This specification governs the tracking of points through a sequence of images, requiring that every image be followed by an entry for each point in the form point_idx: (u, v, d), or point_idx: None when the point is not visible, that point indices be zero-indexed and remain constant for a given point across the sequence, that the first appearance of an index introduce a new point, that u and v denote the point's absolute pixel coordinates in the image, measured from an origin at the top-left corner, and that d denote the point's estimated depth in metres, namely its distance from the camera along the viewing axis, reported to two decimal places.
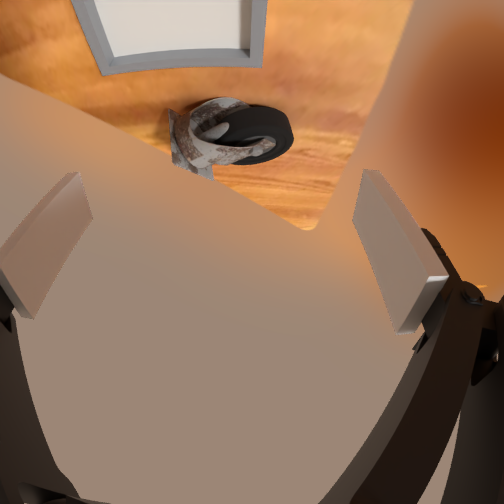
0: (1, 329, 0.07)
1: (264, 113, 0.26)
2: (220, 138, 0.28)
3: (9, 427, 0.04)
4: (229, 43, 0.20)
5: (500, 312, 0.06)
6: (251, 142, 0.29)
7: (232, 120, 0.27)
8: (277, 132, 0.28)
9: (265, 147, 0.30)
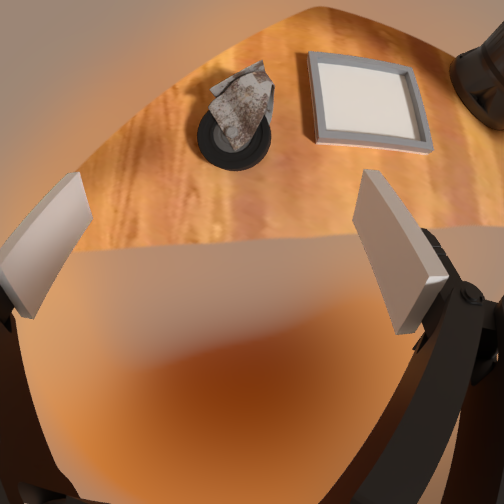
0: (1, 329, 0.07)
1: (269, 143, 0.32)
2: None
3: (9, 427, 0.04)
4: (327, 123, 0.34)
5: (500, 312, 0.06)
6: None
7: None
8: (254, 150, 0.31)
9: (233, 141, 0.31)
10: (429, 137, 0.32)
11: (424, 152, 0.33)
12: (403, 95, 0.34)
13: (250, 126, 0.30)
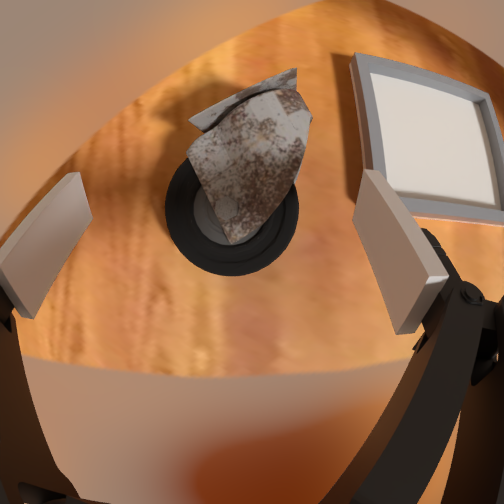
0: (1, 329, 0.07)
1: None
2: None
3: (9, 427, 0.04)
4: None
5: (500, 312, 0.06)
6: None
7: None
8: (267, 246, 0.18)
9: (228, 225, 0.17)
10: None
11: None
12: (480, 134, 0.21)
13: (263, 202, 0.16)
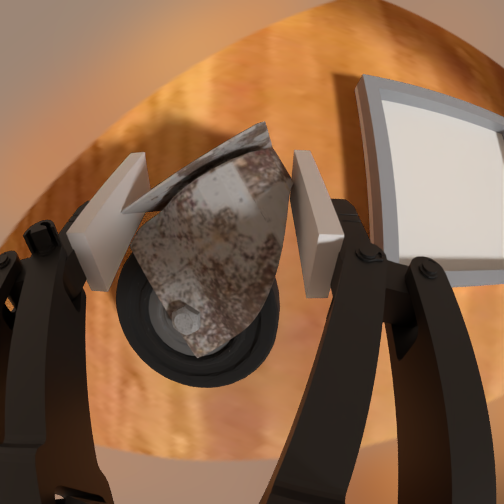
0: (69, 308, 0.08)
1: None
2: None
3: (58, 423, 0.04)
4: None
5: (411, 279, 0.07)
6: None
7: None
8: (241, 359, 0.14)
9: (191, 338, 0.14)
10: None
11: None
12: None
13: (230, 317, 0.12)
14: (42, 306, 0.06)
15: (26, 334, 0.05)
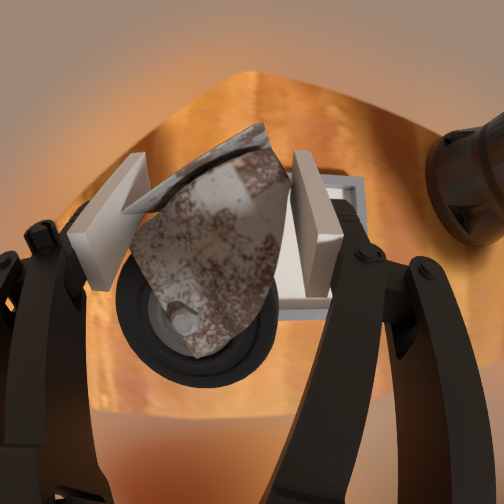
0: (69, 308, 0.08)
1: None
2: None
3: (58, 423, 0.04)
4: None
5: (410, 278, 0.07)
6: None
7: None
8: (241, 359, 0.14)
9: (190, 338, 0.14)
10: None
11: None
12: None
13: (229, 318, 0.12)
14: (43, 306, 0.06)
15: (26, 334, 0.05)
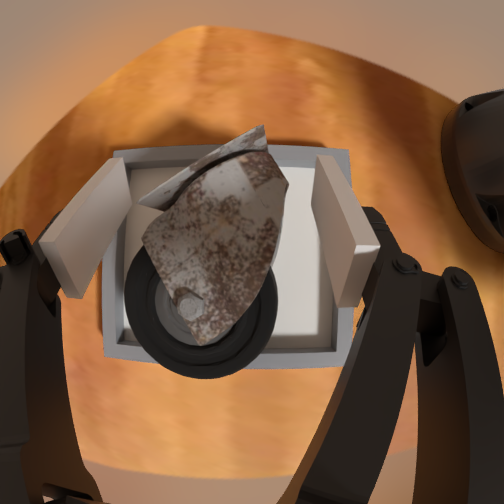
0: (45, 313, 0.07)
1: None
2: None
3: (40, 423, 0.04)
4: None
5: (443, 287, 0.07)
6: None
7: None
8: (243, 346, 0.14)
9: (195, 325, 0.14)
10: (347, 338, 0.17)
11: None
12: (314, 225, 0.19)
13: (232, 300, 0.13)
14: (19, 312, 0.06)
15: (5, 339, 0.05)
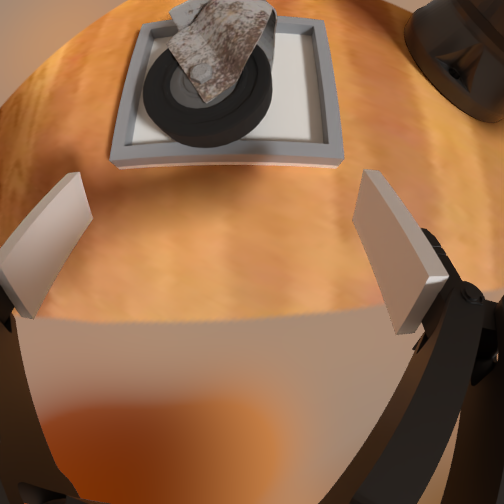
0: (1, 329, 0.07)
1: (270, 96, 0.17)
2: None
3: (9, 427, 0.04)
4: (140, 132, 0.20)
5: (500, 312, 0.06)
6: None
7: None
8: (243, 102, 0.16)
9: (203, 88, 0.16)
10: (337, 134, 0.19)
11: (327, 164, 0.20)
12: (301, 65, 0.20)
13: (235, 59, 0.15)
14: None
15: None
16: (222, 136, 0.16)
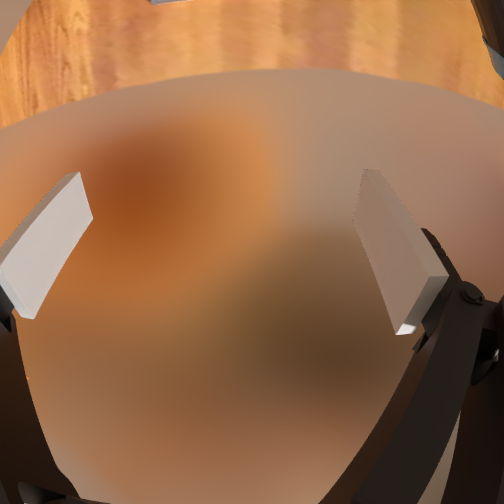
0: (1, 329, 0.07)
1: None
2: None
3: (9, 427, 0.04)
4: None
5: (500, 312, 0.06)
6: None
7: None
8: None
9: None
10: None
11: None
12: None
13: None
14: None
15: None
16: None
